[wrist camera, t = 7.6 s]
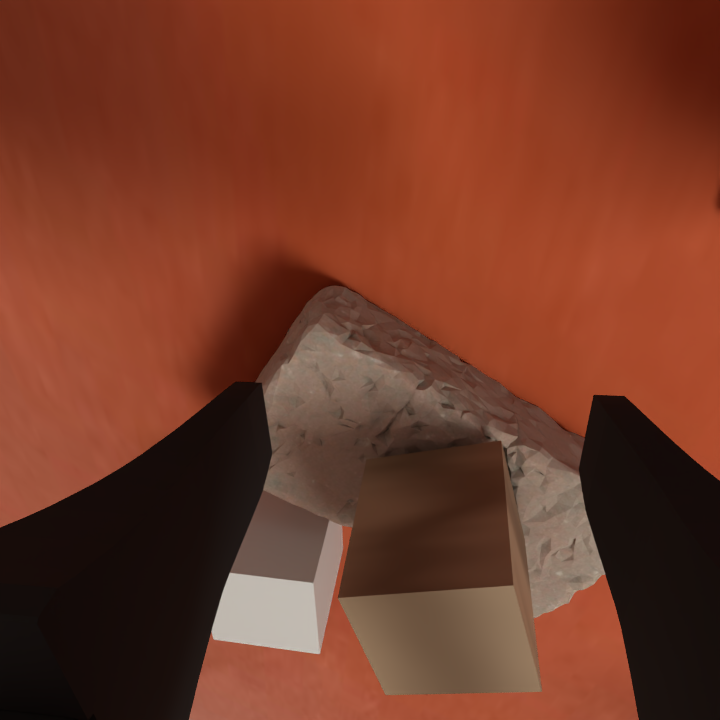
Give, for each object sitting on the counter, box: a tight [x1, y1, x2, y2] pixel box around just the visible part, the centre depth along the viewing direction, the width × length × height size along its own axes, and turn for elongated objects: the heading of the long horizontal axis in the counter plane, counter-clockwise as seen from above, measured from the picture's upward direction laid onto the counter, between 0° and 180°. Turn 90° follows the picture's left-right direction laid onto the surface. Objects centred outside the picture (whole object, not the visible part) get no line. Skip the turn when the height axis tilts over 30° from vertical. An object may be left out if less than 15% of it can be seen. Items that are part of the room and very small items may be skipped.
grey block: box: [212, 490, 343, 654], centre depth 28 cm, size 5×5×6 cm
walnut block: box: [338, 441, 542, 695], centre depth 20 cm, size 5×5×6 cm
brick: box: [255, 285, 605, 618], centre depth 25 cm, size 17×8×5 cm, turn 58°
